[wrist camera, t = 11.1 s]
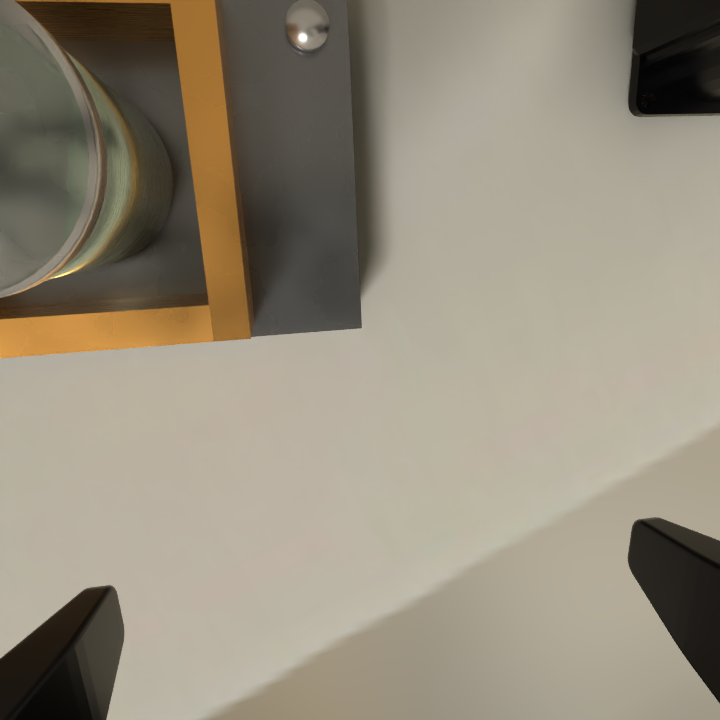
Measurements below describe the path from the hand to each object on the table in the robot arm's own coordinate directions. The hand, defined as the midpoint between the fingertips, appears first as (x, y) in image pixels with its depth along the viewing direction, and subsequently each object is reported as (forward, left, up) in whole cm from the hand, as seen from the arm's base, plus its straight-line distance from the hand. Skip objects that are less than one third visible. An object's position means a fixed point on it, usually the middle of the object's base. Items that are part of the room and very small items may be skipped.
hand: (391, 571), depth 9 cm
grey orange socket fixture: (+7, -7, -12) cm, 15 cm away
